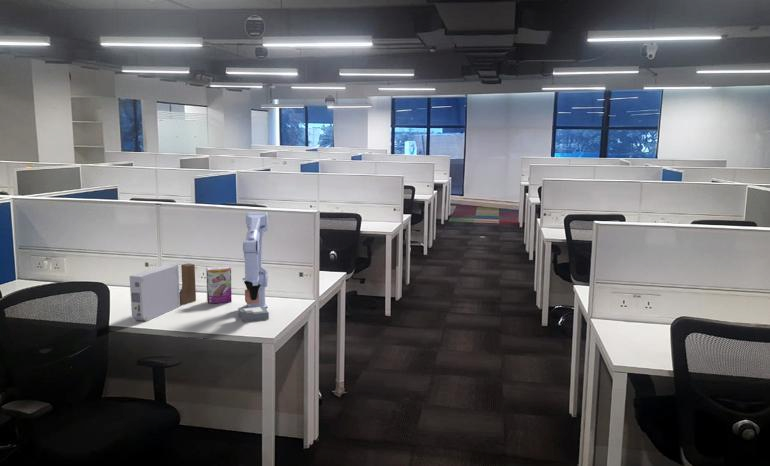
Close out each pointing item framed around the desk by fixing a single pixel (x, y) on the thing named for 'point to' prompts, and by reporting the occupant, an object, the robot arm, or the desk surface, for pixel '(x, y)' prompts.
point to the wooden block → (188, 284)
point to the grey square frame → (253, 313)
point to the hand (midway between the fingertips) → (252, 298)
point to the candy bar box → (218, 285)
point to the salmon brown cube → (248, 298)
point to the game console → (154, 292)
